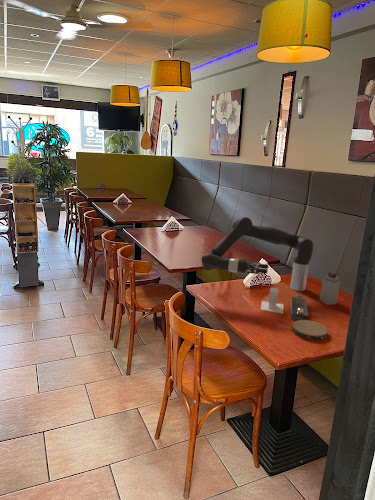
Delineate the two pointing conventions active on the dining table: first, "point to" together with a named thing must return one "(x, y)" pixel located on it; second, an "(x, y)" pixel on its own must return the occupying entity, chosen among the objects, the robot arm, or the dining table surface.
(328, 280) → the perfume bottle
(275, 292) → the lever cap
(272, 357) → the dining table surface
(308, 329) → the brown round disc
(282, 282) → the dining table surface
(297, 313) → the hand plane
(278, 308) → the rubber mat
